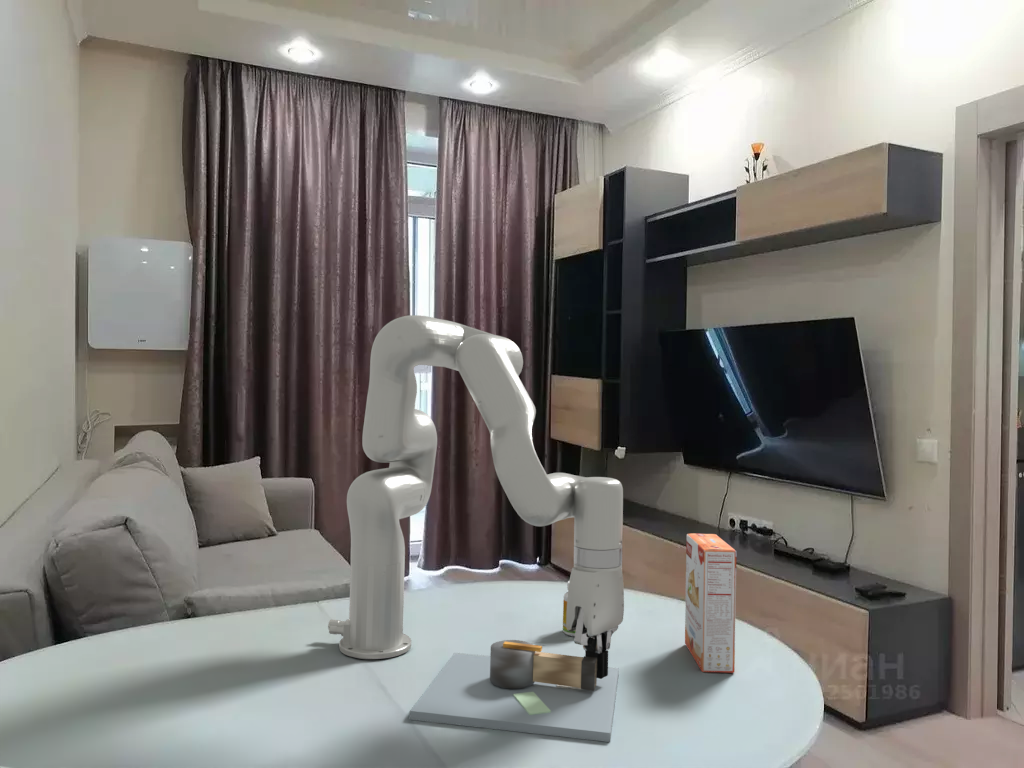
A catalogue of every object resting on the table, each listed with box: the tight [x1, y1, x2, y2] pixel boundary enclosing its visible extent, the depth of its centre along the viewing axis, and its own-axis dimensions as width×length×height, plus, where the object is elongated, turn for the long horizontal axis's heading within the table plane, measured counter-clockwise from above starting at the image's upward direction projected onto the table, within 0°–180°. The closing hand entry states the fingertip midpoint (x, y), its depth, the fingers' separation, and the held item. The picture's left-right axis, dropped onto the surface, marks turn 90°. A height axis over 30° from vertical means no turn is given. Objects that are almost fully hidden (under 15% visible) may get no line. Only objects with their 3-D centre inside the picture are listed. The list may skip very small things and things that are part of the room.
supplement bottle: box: [562, 580, 576, 637], centre depth 146 cm, size 5×5×10 cm
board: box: [409, 652, 620, 743], centre depth 115 cm, size 28×24×1 cm
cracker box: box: [684, 532, 738, 674], centre depth 134 cm, size 14×6×21 cm, turn 179°
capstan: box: [489, 639, 597, 691], centre depth 116 cm, size 16×7×6 cm, turn 74°
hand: (596, 675), depth 118 cm, fingers closed
